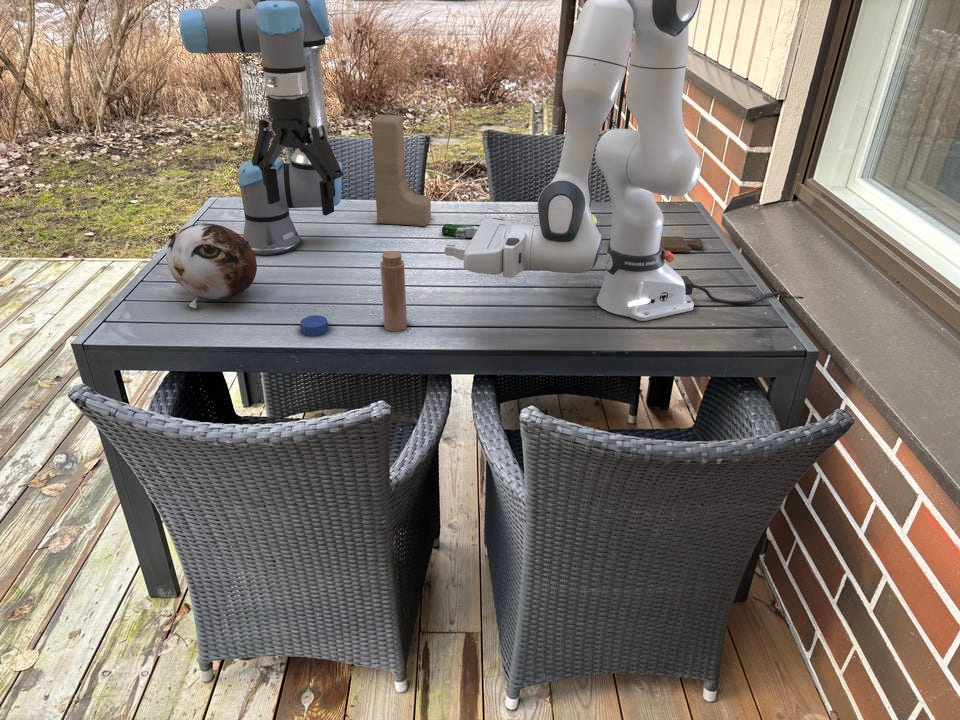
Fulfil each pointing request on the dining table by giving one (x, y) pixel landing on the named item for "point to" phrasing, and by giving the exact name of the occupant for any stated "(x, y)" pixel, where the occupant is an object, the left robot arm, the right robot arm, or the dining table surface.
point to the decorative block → (394, 176)
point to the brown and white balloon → (211, 261)
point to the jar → (393, 291)
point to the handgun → (455, 228)
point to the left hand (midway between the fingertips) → (300, 207)
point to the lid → (314, 325)
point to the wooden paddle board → (679, 244)
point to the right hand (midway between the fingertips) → (451, 241)
